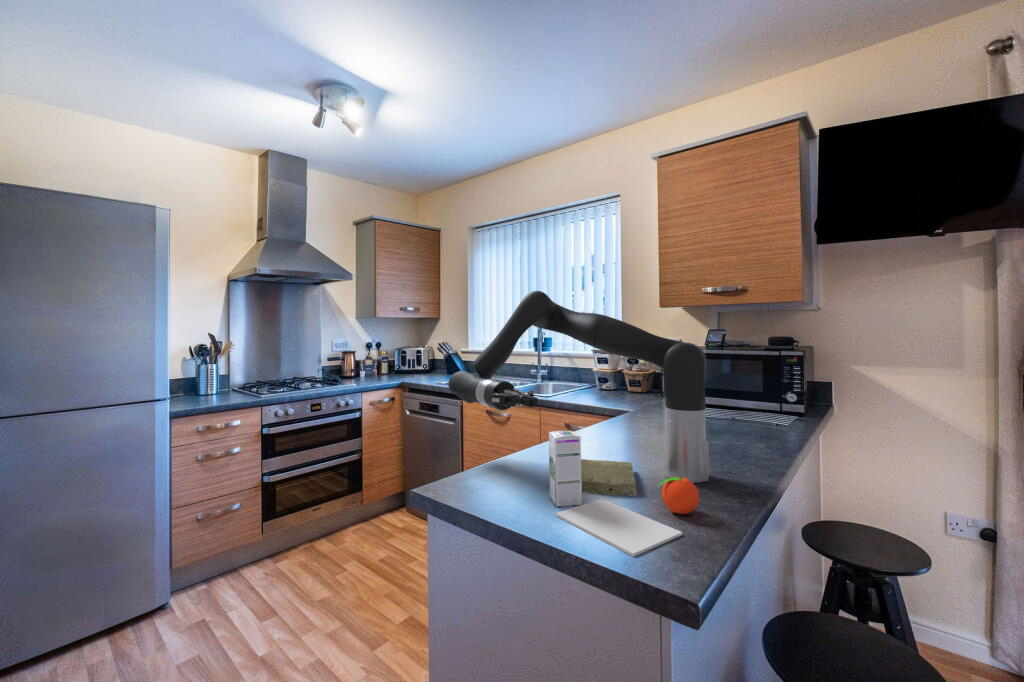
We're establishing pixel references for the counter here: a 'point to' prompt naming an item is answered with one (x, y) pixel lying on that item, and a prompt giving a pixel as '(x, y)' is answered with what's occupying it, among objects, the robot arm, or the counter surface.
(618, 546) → the white rectangular slab
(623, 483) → the decorative tile
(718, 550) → the counter surface
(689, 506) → the clementine
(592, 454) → the counter surface
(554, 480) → the syrup box
